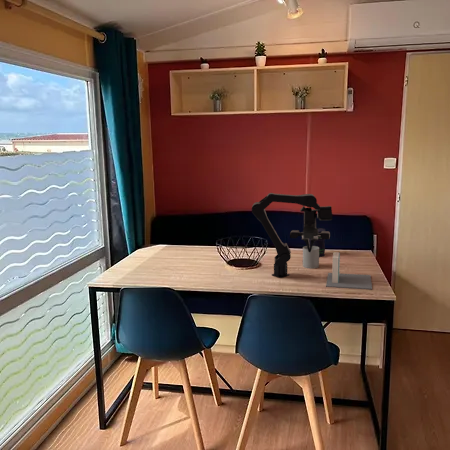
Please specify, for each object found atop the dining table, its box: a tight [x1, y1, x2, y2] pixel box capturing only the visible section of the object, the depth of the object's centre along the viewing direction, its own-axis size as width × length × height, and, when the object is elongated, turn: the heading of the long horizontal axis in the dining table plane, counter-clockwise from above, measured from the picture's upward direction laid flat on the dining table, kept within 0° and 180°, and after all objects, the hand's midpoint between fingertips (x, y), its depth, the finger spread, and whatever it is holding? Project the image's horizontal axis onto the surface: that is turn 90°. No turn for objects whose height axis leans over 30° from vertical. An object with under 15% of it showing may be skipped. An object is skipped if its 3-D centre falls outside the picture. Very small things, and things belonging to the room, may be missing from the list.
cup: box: [302, 245, 320, 270], centre depth 239 cm, size 8×8×10 cm
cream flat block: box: [331, 251, 341, 283], centre depth 215 cm, size 3×10×12 cm, turn 165°
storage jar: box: [309, 227, 326, 258], centre depth 260 cm, size 10×10×15 cm
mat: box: [325, 272, 373, 291], centre depth 215 cm, size 20×20×1 cm
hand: (309, 251), depth 222 cm, fingers closed
